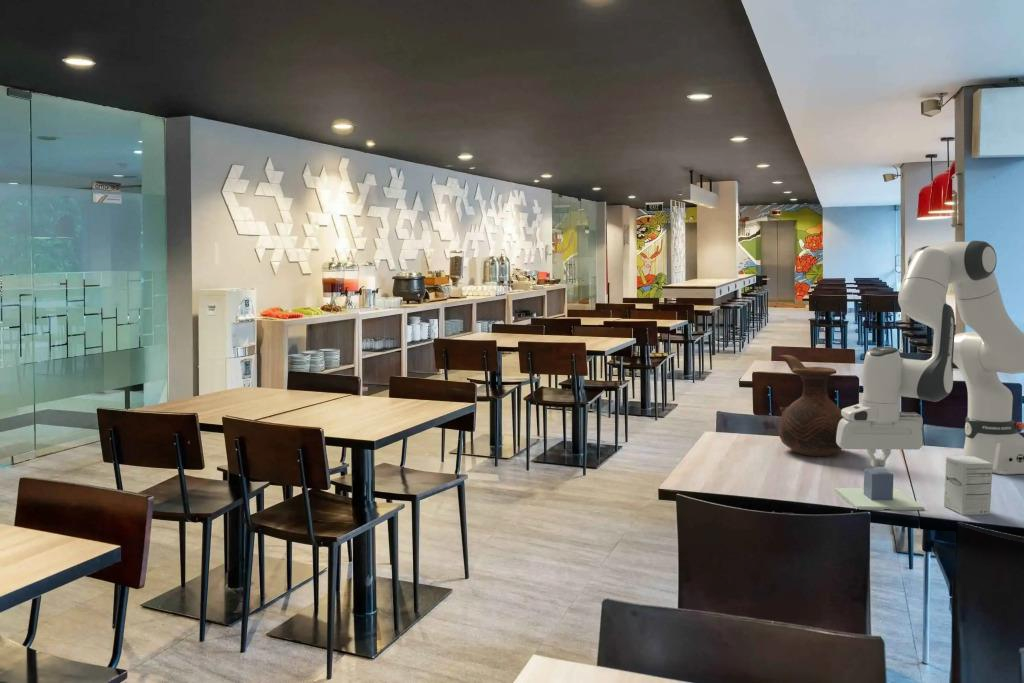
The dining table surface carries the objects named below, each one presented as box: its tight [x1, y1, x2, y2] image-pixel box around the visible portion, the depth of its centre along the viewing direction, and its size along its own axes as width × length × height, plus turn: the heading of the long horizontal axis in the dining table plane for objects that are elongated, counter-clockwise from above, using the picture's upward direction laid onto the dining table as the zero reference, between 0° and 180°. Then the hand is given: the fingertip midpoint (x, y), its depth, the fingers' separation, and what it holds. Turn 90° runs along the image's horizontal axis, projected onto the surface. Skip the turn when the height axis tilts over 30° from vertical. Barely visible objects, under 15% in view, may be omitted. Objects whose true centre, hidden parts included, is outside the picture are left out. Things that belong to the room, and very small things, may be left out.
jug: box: [777, 354, 844, 457], centre depth 256 cm, size 22×22×30 cm
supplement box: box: [943, 455, 993, 516], centre depth 196 cm, size 7×7×13 cm
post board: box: [834, 487, 925, 511], centre depth 205 cm, size 16×16×6 cm
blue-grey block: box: [863, 468, 895, 500], centre depth 205 cm, size 5×5×7 cm
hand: (878, 466), depth 205 cm, fingers closed
